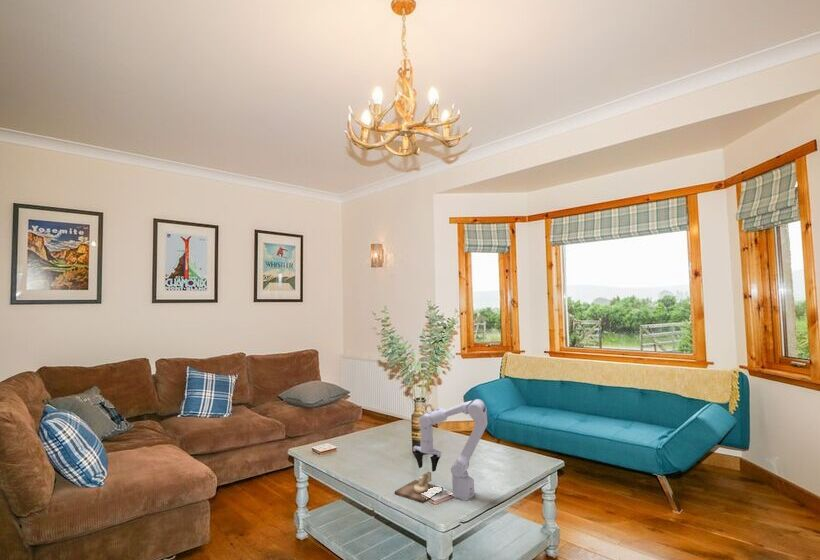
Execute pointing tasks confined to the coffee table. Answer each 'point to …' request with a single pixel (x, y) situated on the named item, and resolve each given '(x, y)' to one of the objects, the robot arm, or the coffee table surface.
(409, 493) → the plate
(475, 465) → the coffee table surface
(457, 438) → the coffee table surface
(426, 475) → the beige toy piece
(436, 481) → the coffee table surface
